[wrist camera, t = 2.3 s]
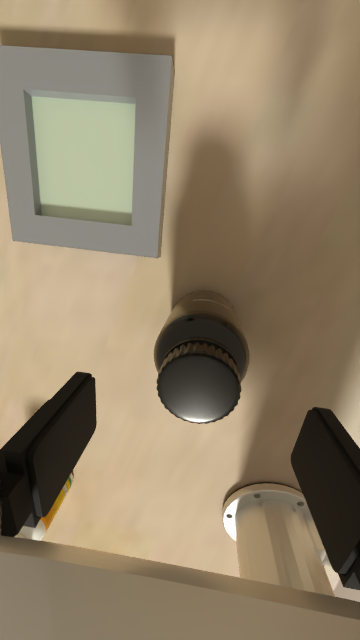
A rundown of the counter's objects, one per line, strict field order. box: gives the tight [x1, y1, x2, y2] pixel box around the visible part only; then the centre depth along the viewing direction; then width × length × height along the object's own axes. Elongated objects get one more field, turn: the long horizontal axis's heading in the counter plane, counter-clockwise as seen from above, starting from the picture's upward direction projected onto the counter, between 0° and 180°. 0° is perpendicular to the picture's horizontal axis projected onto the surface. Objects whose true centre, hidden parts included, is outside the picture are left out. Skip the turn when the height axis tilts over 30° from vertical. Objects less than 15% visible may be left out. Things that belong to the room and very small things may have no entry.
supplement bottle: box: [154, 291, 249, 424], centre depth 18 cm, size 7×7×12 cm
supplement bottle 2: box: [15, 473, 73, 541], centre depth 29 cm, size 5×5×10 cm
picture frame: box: [0, 45, 174, 258], centre depth 20 cm, size 14×14×2 cm
